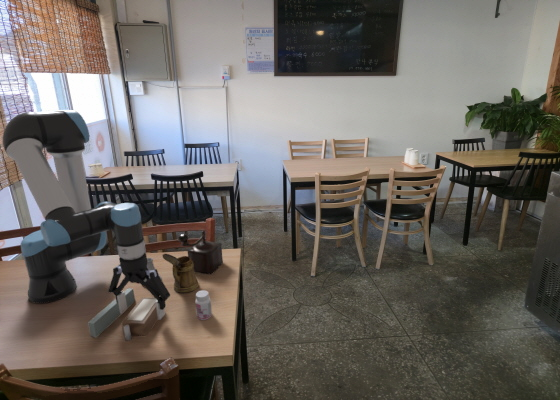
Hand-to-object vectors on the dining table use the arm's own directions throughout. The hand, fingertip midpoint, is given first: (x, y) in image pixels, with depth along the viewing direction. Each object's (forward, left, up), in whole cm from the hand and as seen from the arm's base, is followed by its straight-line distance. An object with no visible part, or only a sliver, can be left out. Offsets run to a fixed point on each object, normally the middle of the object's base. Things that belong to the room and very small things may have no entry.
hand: (142, 314), depth 112 cm
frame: (+1, 0, -3) cm, 3 cm away
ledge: (-5, 0, -3) cm, 6 cm away
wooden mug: (+3, +19, -3) cm, 20 cm away
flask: (-11, +21, -3) cm, 24 cm away
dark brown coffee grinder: (+4, +34, -3) cm, 35 cm away
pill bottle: (+18, +7, -3) cm, 19 cm away
